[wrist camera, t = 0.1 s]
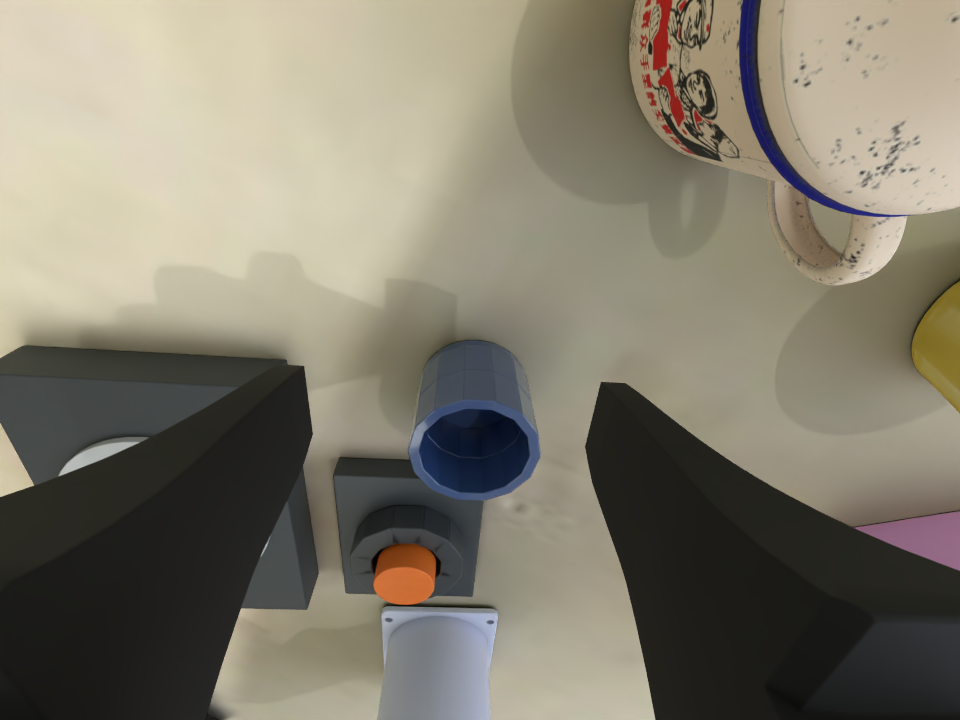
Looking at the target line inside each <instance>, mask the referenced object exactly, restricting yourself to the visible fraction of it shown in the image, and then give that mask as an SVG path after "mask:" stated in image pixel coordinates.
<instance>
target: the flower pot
mask: <svg viewBox="0 0 960 720" xmlns="http://www.w3.org/2000/svg"><path fill="white" fill-rule="evenodd" d="M912 358H913V362H914V364H915V367H916V368H917V370H918V371H919V372H920V373H921V374H922V375H923V376H924V377H925V378H926V379H927V380H928V381H929V382H930V383H931V384H932V385H933V386H934V387H935V388H936V389H937V390H938V391H939V392H940V393H941V394H942V395H943V396H944V397H945V398H946V399H947V400H948V401H949V402H950V404H951V405H952V406H953V407H954V408H955V409H956V410H957V411H958V412H959V413H960V281H959V282H958V283H956V284H955V285H953V286H952V287H951V288H950V289H948V290H947V291H946V292H945V293H944V294H943V295H942V296H941V297H939V298H938V299H937V301H936V302H935V303H934V304H933V305H932V306H931V307H930V309H929V310H928V311H927V313H926V314H925V315H924V317H923V319H922V320H921V322H920V324H919V325H918V327H917V330H916V332H915V335H914V337H913V342H912Z"/></svg>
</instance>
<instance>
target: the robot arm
mask: <svg viewBox="0 0 960 720" xmlns="http://www.w3.org/2000/svg"><path fill="white" fill-rule="evenodd" d="M312 435H313V433H312V425H311V417H310V409H309V402H308V394H307V386H306V378H305V371H304V366H295V365H276V366H274V367H272V368H270V369H268V370H267V371H265V372H263V373H262V374H260V375H258V376H257V377H255V378H253V379H252V380H250V381H248V382H247V383H245V384H244V385H242V386H240V387H239V388H237V389H235V390H234V391H232V392H230V393H229V394H227V395H225V396H224V397H222V398H221V399H219V400H217V401H216V402H214V403H212V404H211V405H209V406H207V407H205V408H204V409H202V410H200V411H198V412H196V413H195V414H193V415H191V416H189V417H187V418H186V419H184V420H182V421H180V422H178V423H177V424H175V425H173V426H171V427H169V428H167V429H166V430H164V431H162V432H160V433H158V434H156V435H154V436H152V437H150V438H148V439H146V440H144V441H142V442H140V443H137V444H135V445H133V446H131V447H129V448H126V449H124V450H122V451H120V452H118V453H115V454H113V455H111V456H109V457H106V458H104V459H102V460H99V461H97V462H94V463H92V464H89V465H86V466H84V467H81V468H79V469H76V470H74V471H71V472H69V473H66V474H63V475H61V476H58V477H56V478H53V479H51V480H48V481H46V482H43V483H40V484H37V485H35V486H32V487H29V488H26V489H23V490H20V491H17V492H14V493H11V494H8V495H6V496H3V497H0V720H205V718H206V715H207V711H208V708H209V705H210V702H211V698H212V695H213V692H214V689H215V685H216V682H217V679H218V676H219V673H220V669H221V666H222V663H223V660H224V657H225V654H226V651H227V648H228V645H229V642H230V639H231V636H232V633H233V630H234V627H235V624H236V621H237V618H238V615H239V612H240V609H241V607H242V604H243V601H244V598H245V595H246V593H247V590H248V587H249V584H250V581H251V579H252V576H253V573H254V571H255V568H256V566H257V564H258V561H259V559H260V557H261V554H262V552H263V550H264V548H265V546H266V544H267V542H268V539H269V537H270V535H271V533H272V531H273V529H274V527H275V525H276V523H277V521H278V519H279V517H280V515H281V512H282V510H283V508H284V506H285V504H286V502H287V500H288V498H289V496H290V494H291V492H292V489H293V487H294V485H295V483H296V481H297V479H298V477H299V474H300V472H301V470H302V467H303V464H304V461H305V458H306V455H307V452H308V448H309V445H310V442H311V438H312ZM585 448H586V453H587V459H588V464H589V469H590V474H591V479H592V483H593V486H594V489H595V492H596V495H597V498H598V501H599V504H600V507H601V509H602V512H603V515H604V518H605V521H606V524H607V527H608V529H609V532H610V535H611V538H612V541H613V544H614V546H615V549H616V552H617V555H618V558H619V561H620V563H621V567H622V570H623V573H624V577H625V580H626V583H627V588H628V592H629V596H630V600H631V604H632V609H633V613H634V617H635V621H636V625H637V630H638V635H639V639H640V644H641V649H642V653H643V658H644V663H645V667H646V672H647V677H648V682H649V688H650V693H651V698H652V703H653V709H654V714H655V719H656V720H960V571H959V570H956V569H954V568H951V567H948V566H946V565H943V564H941V563H938V562H935V561H933V560H930V559H927V558H925V557H922V556H920V555H917V554H914V553H912V552H909V551H906V550H904V549H901V548H899V547H897V546H894V545H892V544H889V543H887V542H885V541H883V540H880V539H878V538H876V537H873V536H871V535H869V534H866V533H864V532H862V531H860V530H857V529H855V528H853V527H851V526H848V525H846V524H844V523H842V522H840V521H838V520H836V519H834V518H831V517H829V516H827V515H825V514H823V513H821V512H819V511H817V510H815V509H813V508H811V507H809V506H808V505H806V504H804V503H802V502H800V501H798V500H796V499H794V498H792V497H790V496H788V495H786V494H785V493H783V492H781V491H779V490H777V489H775V488H774V487H772V486H770V485H768V484H767V483H765V482H763V481H762V480H760V479H758V478H757V477H755V476H753V475H752V474H750V473H748V472H747V471H745V470H743V469H742V468H740V467H739V466H737V465H736V464H734V463H732V462H731V461H729V460H728V459H726V458H725V457H723V456H722V455H721V454H719V453H718V452H716V451H715V450H713V449H712V448H710V447H709V446H708V445H706V444H705V443H703V442H702V441H701V440H699V439H698V438H696V437H695V436H694V435H692V434H691V433H690V432H688V431H687V430H686V429H684V428H683V427H682V426H680V425H679V424H678V423H677V422H675V421H674V420H673V419H671V418H670V417H669V416H668V415H666V414H665V413H664V412H663V411H661V410H660V409H659V408H658V407H656V406H655V405H654V404H652V403H651V402H650V401H649V400H647V399H646V398H645V397H644V396H642V395H641V394H640V393H638V392H637V391H636V390H634V389H633V388H632V387H630V386H629V385H627V384H626V383H610V382H601V384H600V388H599V393H598V397H597V401H596V405H595V409H594V413H593V417H592V421H591V425H590V429H589V433H588V437H587V442H586V446H585ZM381 618H382V639H383V660H384V676H383V683H382V690H381V697H380V704H379V711H378V717H377V720H491V712H490V685H489V670H490V664H491V657H492V651H493V645H494V639H495V633H496V627H497V621H498V612H497V611H496V610H495V609H488V608H447V607H406V606H386V607H384V608H383V609H382V614H381Z"/></svg>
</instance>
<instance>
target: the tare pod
mask: <svg viewBox="0 0 960 720" xmlns="http://www.w3.org/2000/svg"><path fill="white" fill-rule="evenodd" d="M333 480H334V490H335V499H336V508H337V517H338V527H339V536H340V545H341V555H342V564H343V573H344V582H345V592H346V593H349V594H377V593H376V592H375V590H374V586H373V582H374V577H375V572H376V567H377V562H378V557H379V555H380V553H381V552H382V551H383V550H384V549H385V548H387V547H388V546H391V545H394V544H397V543H403V544H417V545H420V546H422V547H425V548H427V549H429V550H430V551H431V552H432V553H433V555H434V557H435V559H436V572H435V587H434V591H433V593H432V594H431V596H430V597H429V598H431V597H434V596H466V597H472V596H473V590H474V581H475V572H476V563H477V554H478V545H479V536H480V528H481V519H482V510H483V501H484V500H483V501H480V500H457V499H454V498H451V497H449V496H446V495H444V494H441V493H438V492H436V491H433V490H432V489H430V488H429V487H428V486H427V485H426V484H425V483H424V482H423V481H422V480H421V479H420V478H419V477H418V476H417V475H416V474H415V472H414V470H413V467H412V463H411V461H404V460H380V459H357V458H339V460H338V463H337V465H336V468H335V471H334V474H333ZM377 595H378V594H377ZM427 599H428V598H427Z"/></svg>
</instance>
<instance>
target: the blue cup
mask: <svg viewBox="0 0 960 720" xmlns="http://www.w3.org/2000/svg"><path fill="white" fill-rule="evenodd" d="M408 453H409V457H410V460H411V463H412V467H413V470H414V472H415V474H416V475H417V476H418V477H419V478H420V479H421V480H422V481H423V482H424V483H425V484H426V485H427V486H428V487H429V488H430V489H432V490H433V491H436V492H438V493H441V494H444V495H446V496H449V497H451V498H454V499H457V500H480V501H483V500H488V499H491V498H495V497H498V496H502V495H505V494H508V493H510V492H512V491H513V490H515V489H516V488H517V487H519V486H520V485H521V484H522V483H524V482H525V481H526V480H528V479H529V478H530V477H531V475H532V473H533V471H534V469H535V467H536V465H537V463H538V461H539V458H540V455H541V454H540V445H539V435H538V430H537V425H536V420H535V416H534V411H533V406H532V401H531V397H530V392H529V387H528V382H527V378H526V374H525V373H524V370H523V368H522V366H521V364H520V363H519V361H518V360H517V359H516V358H515V356H513V355H512V354H511V353H510V352H509V351H507V350H506V349H504V348H503V347H501V346H499V345H496V344H494V343H490V342H486V341H480V340H468V341H461V342H457V343H454V344H451V345H449V346H447V347H445V348H443V349H441V350H440V351H438V352H437V353H436V354H435V355H434V356H433V357H432V358H431V359H430V360H429V361H428V363H427V364H426V366H425V367H424V370H423V372H422V376H421V380H420V384H419V388H418V392H417V398H416V404H415V410H414V416H413V422H412V428H411V434H410V439H409V445H408Z"/></svg>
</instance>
